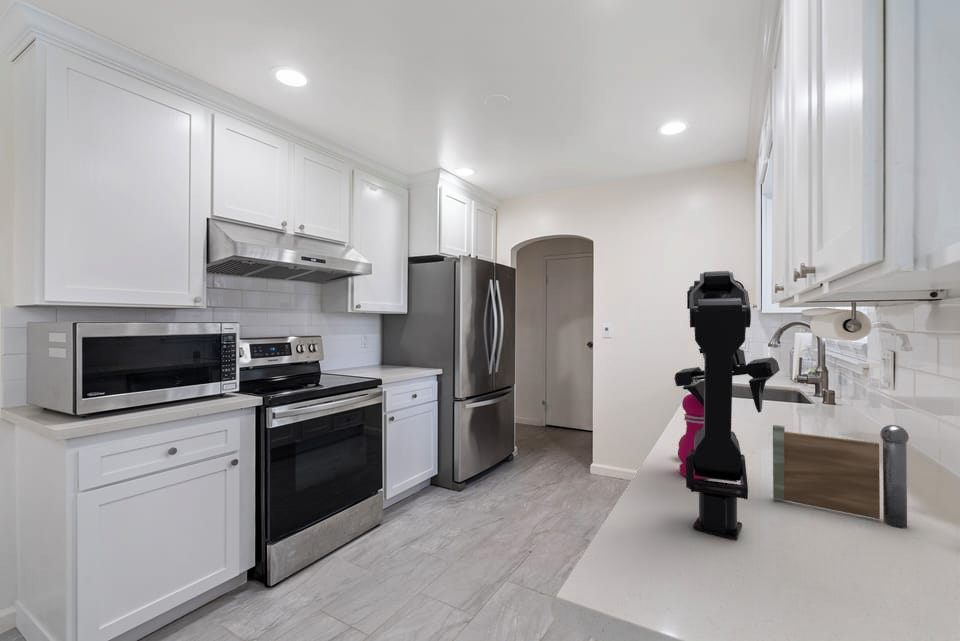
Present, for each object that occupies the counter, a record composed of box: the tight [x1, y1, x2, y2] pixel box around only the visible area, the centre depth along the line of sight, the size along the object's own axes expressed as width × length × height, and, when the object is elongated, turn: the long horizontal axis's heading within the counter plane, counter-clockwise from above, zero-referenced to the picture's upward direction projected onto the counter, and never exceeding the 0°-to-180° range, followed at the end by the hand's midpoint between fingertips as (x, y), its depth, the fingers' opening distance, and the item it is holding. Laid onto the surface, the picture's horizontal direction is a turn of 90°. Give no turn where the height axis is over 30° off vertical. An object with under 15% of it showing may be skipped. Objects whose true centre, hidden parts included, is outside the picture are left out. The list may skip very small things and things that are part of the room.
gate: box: [772, 424, 881, 520], centre depth 83 cm, size 2×16×14 cm, turn 53°
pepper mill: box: [677, 393, 709, 480], centre depth 102 cm, size 7×7×20 cm
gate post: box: [879, 424, 910, 529], centre depth 77 cm, size 4×4×17 cm
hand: (735, 413), depth 92 cm, fingers open, 9 cm apart
